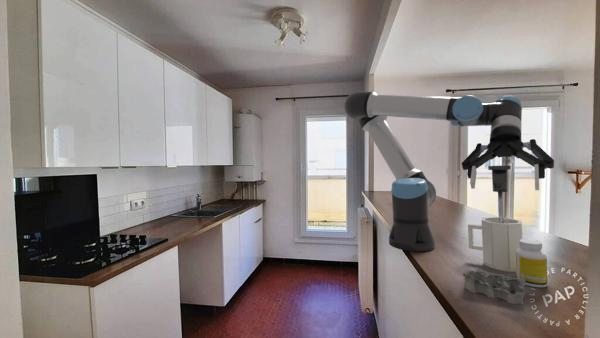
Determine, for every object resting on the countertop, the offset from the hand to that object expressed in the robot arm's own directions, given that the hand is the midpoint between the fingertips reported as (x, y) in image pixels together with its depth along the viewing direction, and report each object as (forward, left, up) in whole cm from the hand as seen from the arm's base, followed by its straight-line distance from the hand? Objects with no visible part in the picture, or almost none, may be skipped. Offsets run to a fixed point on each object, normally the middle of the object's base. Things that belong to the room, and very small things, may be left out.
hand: (502, 186), depth 68 cm
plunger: (-1, +1, -15) cm, 15 cm away
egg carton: (-1, -17, -22) cm, 28 cm away
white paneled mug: (-2, +1, -22) cm, 22 cm away
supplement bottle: (+5, -7, -22) cm, 24 cm away
